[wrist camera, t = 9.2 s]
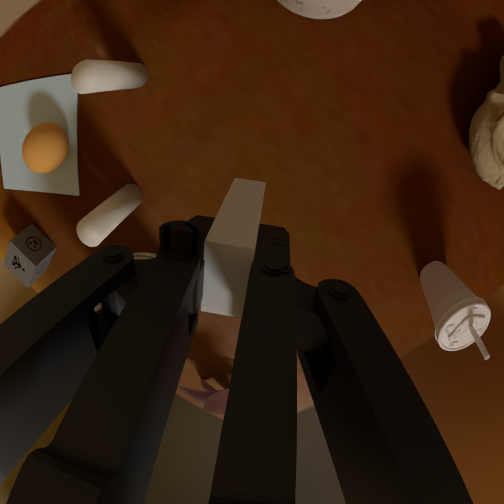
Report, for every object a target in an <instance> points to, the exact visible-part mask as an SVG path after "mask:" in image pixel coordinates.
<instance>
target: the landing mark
mask: <svg viewBox="0 0 504 504" xmlns="http://www.w3.org/2000/svg"><path fill="white" fill-rule="evenodd" d="M77 105H78V93H77V92H76V91H75V90H74V89H73V87H72V85H71V74H67V75H60V76H53V77H47V78H41V79H35V80H30V81H25V82H20V83H16V84H11V85H7V86H3V87H0V156H1V166H2V175H3V183H4V189H15V190H27V191H37V192H47V193H57V194H67V195H76V196H79V195H80V190H79V175H78V153H77ZM46 122H51V123H55V124H57V125H59V126H61V127H62V128H63V129H64V131H65V132H66V134H67V136H68V140H69V150H68V154H67V157H66V159H65V160H64V162H63V163H62V165H61V166H60V167H58V168H57V169H56V170H54V171H52V172H49V173H44V174H43V173H37V172H34V171H32V170H31V169H29V168H28V166H27V165H26V164H25V162H24V160H23V156H22V146H23V142H24V139H25V137H26V135H27V134H28V133H29V131H30V130H31V129H32V128H34V127H35V126H37V125H39V124H41V123H46Z"/></svg>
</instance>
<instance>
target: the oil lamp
mask: <svg viewBox="0 0 504 504" xmlns="http://www.w3.org/2000/svg"><path fill="white" fill-rule="evenodd" d="M499 67H500V83H499V84H498V85H497V88H496V89H493V90H492V91H489V92H488V93H487V95H486V99H485V101H484V103H483V104H482V105H481V106H480V107H479V108H478V109H477V110H476V112H475V114H474V116H473V118H472V120H471V123H470V129H469V145H470V153H471V158H472V161H473V164H474V166H475V171H476V172H477V173H478V174H479V176H480V177H481V179H482V180H484V181H486V182H487V183H489V184H490V185H491V186H493V187H496V188H497V189H501V188H502V187H503V186H504V55H503V56H502V58H501V60H500V66H499Z"/></svg>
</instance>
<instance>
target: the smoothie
mask: <svg viewBox="0 0 504 504" xmlns="http://www.w3.org/2000/svg"><path fill="white" fill-rule="evenodd" d="M420 282H421V285H422V288H423V291H424V294H425V296H426V299H427V302H428V305H429V308H430V312H431V315H432V318H433V321H434V325H435V338H436V340H437V341H438V343H439V345H440V347H441V348H443V349H444V350H448V351H455V350H460V349H462V348H465V347H467V346H469V345H470V344H472V343H473V342H475V341H476V343H477V345H478V347H479V349H480V351H481V353H482V355H483V357H484V359H485V360H487V359H488V358H489V357H490V356H489V354H488V352H487V350H486V348H485V346H484V344H483V343H482V341H481V339H480V336H481V335H482V334H483V333H484V331H485V330H486V328H487V326H488V324H489V321H490V316H491V313H490V309H489V307H488V306H487V304H486V302H485V301H484V300H483V299H481V298H478V297H476V295H475V294H474V293H473V292H472V291H471V290H470V289H469V288H468V287H467V286H466V285H465V284H464V283H463V282H462V281H461V280H460V279H459V278H458V277H457V276H456V275H455V274H454V273H453V272H452V271H451V270H450V269H449V268H448V267H447V266H445V265H444V264H443V263H442V262H440V261H433V262H431V263H429V264H427V265H426V266H425V267H424V268H423V269H422V271H421V273H420Z"/></svg>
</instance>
